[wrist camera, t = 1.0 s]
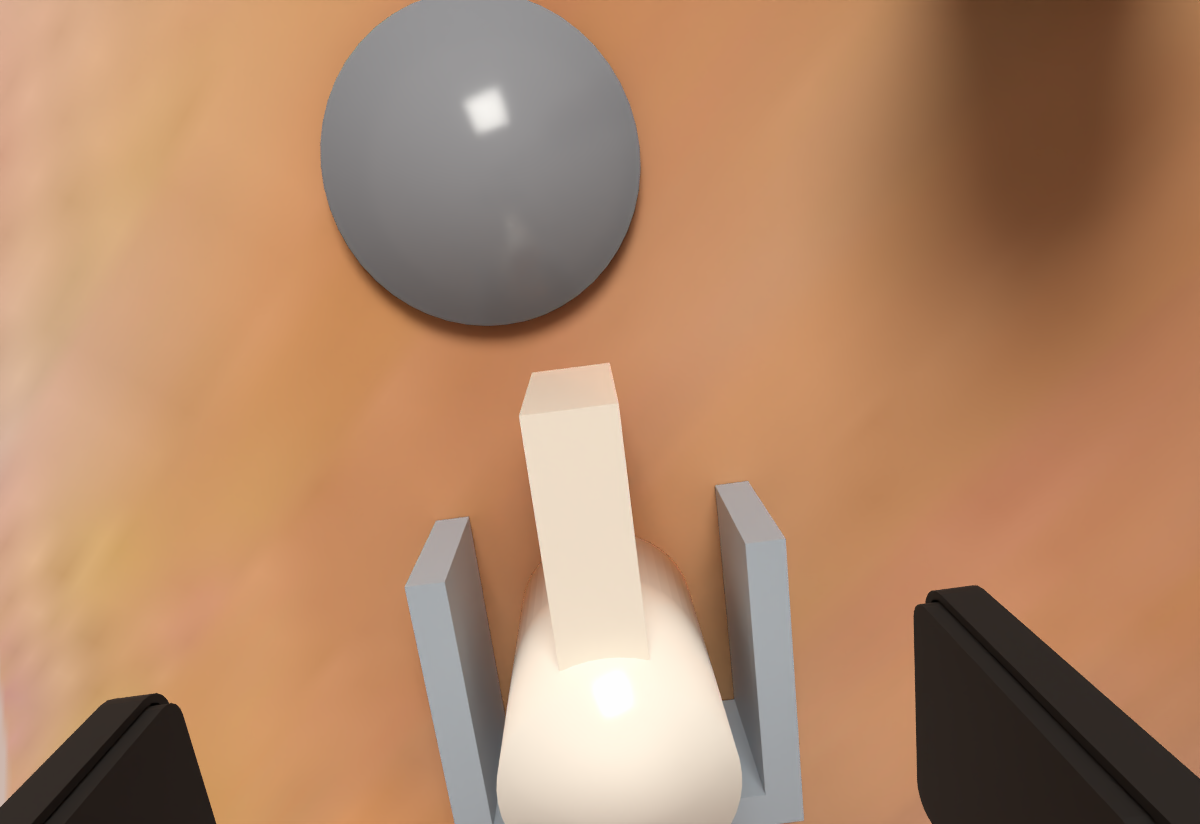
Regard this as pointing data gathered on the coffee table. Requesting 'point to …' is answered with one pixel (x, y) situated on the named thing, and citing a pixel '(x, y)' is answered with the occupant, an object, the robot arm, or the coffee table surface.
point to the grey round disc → (480, 159)
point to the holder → (756, 714)
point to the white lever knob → (605, 642)
